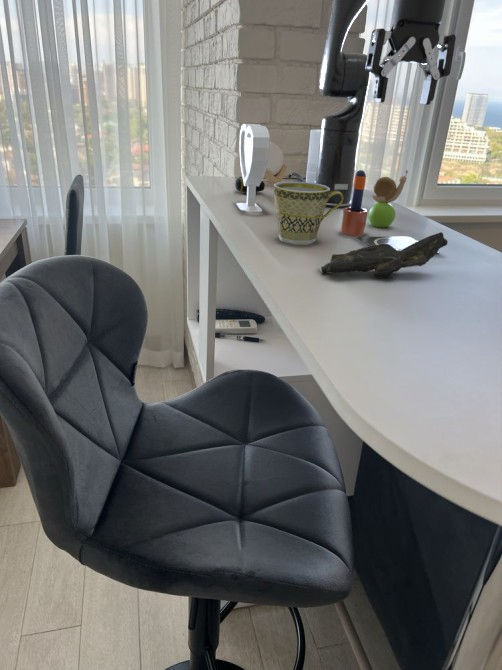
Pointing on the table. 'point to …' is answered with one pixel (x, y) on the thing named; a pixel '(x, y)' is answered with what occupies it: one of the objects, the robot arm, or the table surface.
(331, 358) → the table surface
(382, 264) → the dark brown elongated chunk
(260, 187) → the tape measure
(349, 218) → the pen pot
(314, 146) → the cosmetic box
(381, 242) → the shiny silver plate
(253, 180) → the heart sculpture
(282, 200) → the ceramic cup
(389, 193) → the snail figurine
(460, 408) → the table surface
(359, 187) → the marker
